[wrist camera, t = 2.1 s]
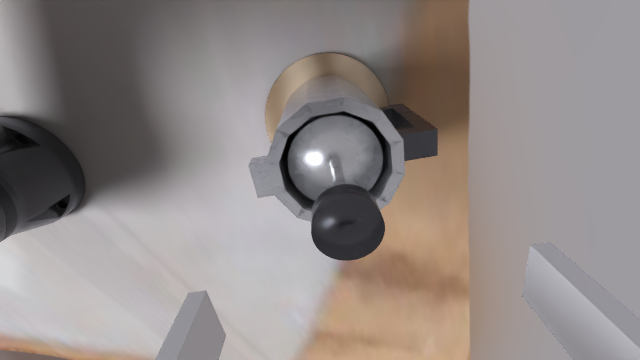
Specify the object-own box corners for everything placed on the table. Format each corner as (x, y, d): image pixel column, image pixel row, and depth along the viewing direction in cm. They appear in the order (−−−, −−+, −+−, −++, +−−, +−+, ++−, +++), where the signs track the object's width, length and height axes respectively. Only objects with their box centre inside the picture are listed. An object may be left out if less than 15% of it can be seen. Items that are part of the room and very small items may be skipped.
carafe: (284, 167, 41) (269, 236, 27) (264, 86, 37) (234, 116, 22) (398, 148, 41) (446, 209, 26) (393, 62, 36) (447, 78, 22)
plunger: (298, 206, 28) (291, 295, 18) (279, 122, 24) (257, 177, 15) (384, 192, 27) (423, 276, 18) (376, 106, 24) (420, 150, 14)
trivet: (280, 182, 43) (280, 184, 43) (251, 65, 36) (250, 66, 36) (391, 164, 42) (392, 166, 42) (383, 41, 36) (384, 41, 35)
